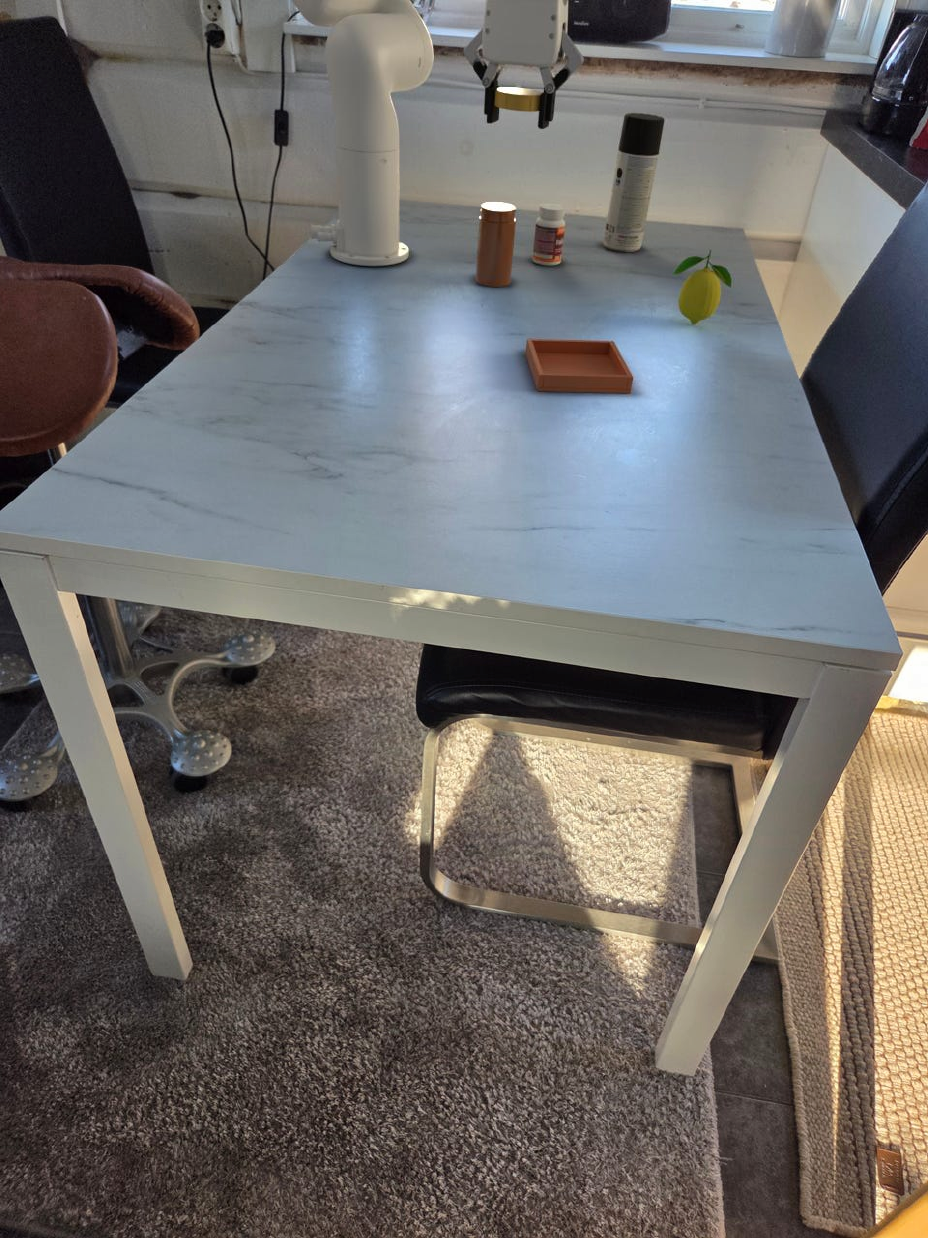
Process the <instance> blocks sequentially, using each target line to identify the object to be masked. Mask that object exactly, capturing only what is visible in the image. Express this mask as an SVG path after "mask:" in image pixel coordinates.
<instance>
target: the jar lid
mask: <svg viewBox="0 0 928 1238" xmlns="http://www.w3.org/2000/svg"><path fill="white" fill-rule="evenodd" d="M543 92H544V91H541V90H536V89H532V88H526V87H525V88H524V87H510V86H508V87H507V86H503V87H500V88H496V89H495V99H494V105H495V106H496V107H498V108H499V109H503V110H507V111H515V112H525V113H527V112H529V113H530V112H531V113H533V112H534V113H535V112H539V106H540V95H541V94H542V93H543Z"/></svg>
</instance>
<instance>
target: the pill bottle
mask: <svg viewBox="0 0 928 1238" xmlns="http://www.w3.org/2000/svg"><path fill="white" fill-rule="evenodd" d="M538 210H539V212H538V216H539V217H538V218H537V219H536V220H535V228H534V236H533V237H534V238H533V247H532V255H531V256H532V257H531V260H532V262H533V263H535V264H538V265H541V266H548V267H549V266H557V265H559V264H561V262H562V254H563V248H564V239H565V231H566V221H565V220H564V219H563V218H565V212H566V207H565V206H563V205H561V204H555V203H541V204H540V205H539V209H538Z"/></svg>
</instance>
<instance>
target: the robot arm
mask: <svg viewBox="0 0 928 1238" xmlns="http://www.w3.org/2000/svg"><path fill="white" fill-rule="evenodd" d="M291 2H292V3H293V4H294V6H295V8H297V10H298V12H299V13H300V14H301V15H302V17H303V18H304V19H305V20H306V21H307V22H308V23H310V24H311V25H313V26H316V27H319V28H320V27H321V28H331V29H330V31H329V33H328V35H327V38H326V41H325V47H324V61H325V69H326V73H327V79H328V84H329V89H330V93H331V99H332V108H333V118H334V137H335V139H334V140H335V157H336V160H335V161H336V182H337V183H336V184H337V206H338V211H337V212H338V218H337V221H336V223H335V224H333V223H331V224H330V226H323V225H310V236H311V237H310V238H311V239H312V240H313V239H314V240H315V239H317V242H323V243H325V242H326V243H327V242H332V243H331V244H330V247H329V251H330V252H329V253H330V255H331V257H332V258H334V259H335V260H337V261H339V262H342V263H345V264H349V265H353V266H362V267H385V266H386V267H387V266H391V265H392V266H393V265H396V264H397V265H398V264H400V263H403V262H405V261H406V260H407V259H408V258H409V256H410V250H409V247H408V245H406V244H405V243H403V242H401V241H400V176H401V175H400V163H401V161H400V153H401V152H400V126H399V120H398V116H397V113H396V109H395V106H394V103H393V100H392V96H391V93H398V92H405V91H411V90H413V89H416V88H418V87H420V86H421V85H422V84H424V83H425V82H426V80H428V78H429V77H430V74H431V72H432V70H433V66H434V61H435V60H434V59H435V57H434V56H435V54H434V45H433V41H432V37H431V34H430V32H429V29H428V27H427V26H426V24H425V21H424V20H423V18H422V17H421V15H420V14H419V12H418V10H417V9H416V7H415V6H414V5H413V3H412V1H411V0H291ZM483 16H484V17H483V23H482V24H483V25H482V28H481V29H480V30H479V31H478V32H477V33H476V35H475V36H474V37H473V38H472V39H471V40H470V41H469V42H468V43H467V44H466V46H464V47H463V50H462V52H463V56H464V57H465V58H466V60H467V61H468V63H469V64H470V65H471V67H472V69H473V71H474V72H475V74H476V75H477V77H478V79H479V80H480V81H481V85H482V86H483V87H484V103H483V104H484V105H483V114H484V115H485V116H486V124H493V123H496V122H497V121H499V120H500V119H499V118H500V108H498V107H496V106H495V105H494V99H495V89H496V88H501V87H500V85H499V78H500V77H501V74H502V72H503V69H504V66H505V65H511V66H522V67H534V68H539V71H540V76H541V80H542V83H543V86H544V87H543V91H542V92H543V93H542V94H541V95H540V106H539V111H538V118H537V128H538V129H539V130H544V129H547V128H548V127H549V126H550V122H553V120H554V116H555V115H554V114H555V105H556V93H557V91H559V89H560V88H561V87H562V86H563V85H564V84H565V83H566V82H567V81H568V80H569V79H570V77H571V76H572V75H573V74H574V73H575V72H576V71H577V70H578V69H579V68H580V67H581V66H582V65H583V63H584V61H585V58H584V56H583V55H582V53H581V52H580V50H579V48H578V47H577V46H576V45H575V43H574V41H573V40H572V39H571V37H570V36H569V34H568V23H569V22H568V21H569V0H485V7H484V15H483ZM480 49H481V53H482V56H483V58H484V59H485V60H486V61H487V62H488V65H487V63H486V62H485V60H483V59H482V57H481V55H480V53H479V52H480ZM565 58H567V60H568V61H567V63H566V64H565V65H564V67H562V68H561V69H560V70H559V71H558V72H557V70H556V65H558V64H560V63H562V62H563V61H564V60H565Z"/></svg>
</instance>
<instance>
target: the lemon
mask: <svg viewBox="0 0 928 1238" xmlns="http://www.w3.org/2000/svg"><path fill="white" fill-rule="evenodd" d="M711 254H712V249H709V252H708V254H707V256H706V257H700V256H698V255H694V256H690V257H687V258H686V259H684V260H683V261H682V262H680V264H679V265H678V266H677V267H676V268H675V270H674V272H673V273H672V274H673V275H679V274H681V273H683V272H685V271H688V270H689V269H690V268H693V267H695V266H696V265H698V264H700V263H701V262H703V261H704V260H706V262H705V266H704V267H703V268H701V269H697V270H695V271H693V272H692V273H691V274H690V275H689V276H688V277H687V278H686V279H685V281H684V283H683V284H682V287H681V289H680V292H679V296H678V309H679V312H680V314H681V315H682V316H683V317H684V318H686V319H687V320H689V322H690V323H691V324H692V325H697V324H698V323H699V322H701V321H705V320H707V319H709V318H710V317H711V316H713V314H714V313H715V312H716V310H717V308H718V306H719V304H720V301H721V296H722V284H721V282H722V283H723V284H724V285H726V286H727V287H729V288H732V277H731V273H730V272H729V270H728V269H727V268H726V267H724V266H723V265H718V264H712V263H711V262H710V259H711ZM709 265H710V266H711V268H710V267H709ZM711 269H712V270H711Z"/></svg>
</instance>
